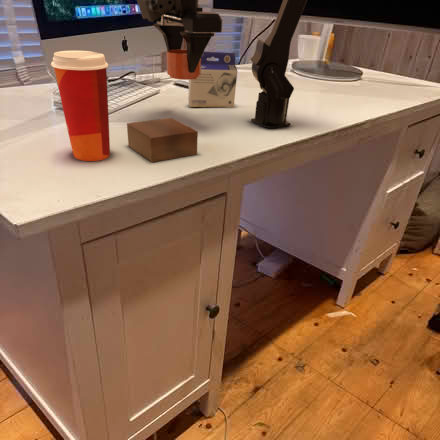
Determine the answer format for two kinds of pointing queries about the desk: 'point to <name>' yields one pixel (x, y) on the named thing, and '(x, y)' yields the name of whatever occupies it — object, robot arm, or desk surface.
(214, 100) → the ink box
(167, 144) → the stand
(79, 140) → the coffee cup
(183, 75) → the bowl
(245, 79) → the desk surface
